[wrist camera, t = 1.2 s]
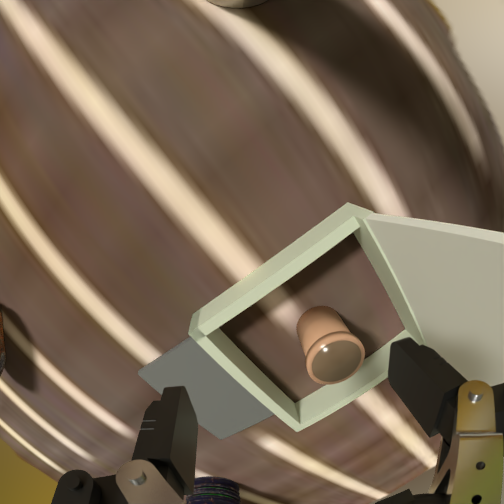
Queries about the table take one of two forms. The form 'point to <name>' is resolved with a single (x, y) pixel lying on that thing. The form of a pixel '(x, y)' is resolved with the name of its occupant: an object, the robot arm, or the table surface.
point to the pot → (329, 346)
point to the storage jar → (214, 491)
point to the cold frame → (399, 291)
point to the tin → (2, 347)
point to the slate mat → (206, 389)
